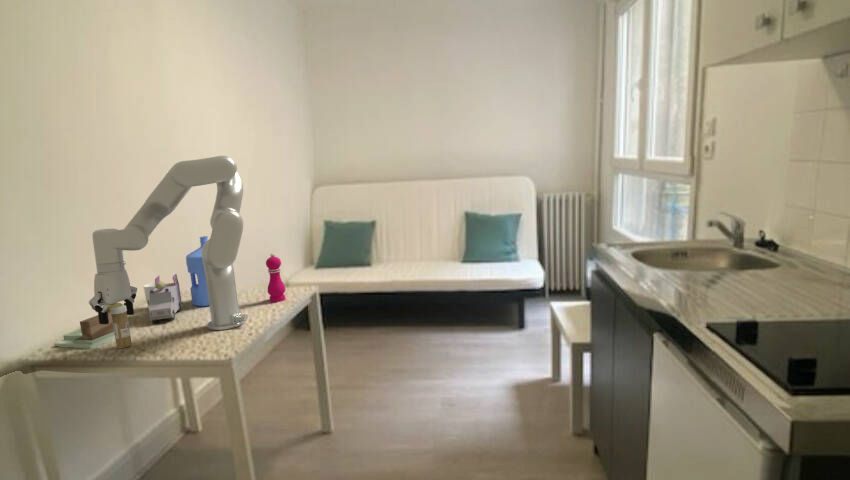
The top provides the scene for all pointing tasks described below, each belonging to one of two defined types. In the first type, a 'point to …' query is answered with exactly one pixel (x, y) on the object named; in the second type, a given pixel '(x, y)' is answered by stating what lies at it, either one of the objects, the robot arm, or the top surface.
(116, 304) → the apple
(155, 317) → the toy vehicle
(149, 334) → the top surface
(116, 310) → the sprinkles bottle
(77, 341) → the jig
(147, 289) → the white cup
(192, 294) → the water jug
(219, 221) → the robot arm
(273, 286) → the pepper mill
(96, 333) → the brown cuboid brick
